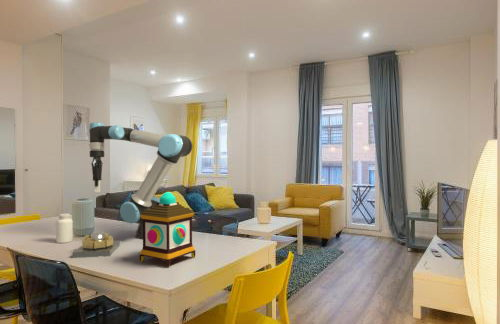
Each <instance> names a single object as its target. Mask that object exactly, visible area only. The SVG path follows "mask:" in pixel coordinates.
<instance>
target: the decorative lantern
mask: <svg viewBox="0 0 500 324" xmlns="http://www.w3.org/2000/svg"><path fill="white" fill-rule="evenodd" d="M173 194H174V193H172V192H170V191H166V192H164V193H163V194H162V195H160V197H159V201H160V203H156V205H154V206H153V207H152V208H151V209H147V210H145V211H144V212H142V214H140V216H141V218H142V220H143V239H142V248H141V250H140V253H139V255H138V256H139V261H140V263H142V261H143V262H144V260H145V257H146V258H150V259H154V260H155V259H156V260H160V261H165V264H166V267H167V268H170V266H171V262H172V261H173V260H177V259H178V258H180V257H183V256H187V255H189V254H190V255H191V258H192V259H193V258H196V249H195V247H194V245H193V217H194V215H195V211H193V210H192V209H190V207H185V206H183V205H182V204H181V203H179V202H177V200H176V197H175V195H173Z"/></svg>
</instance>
